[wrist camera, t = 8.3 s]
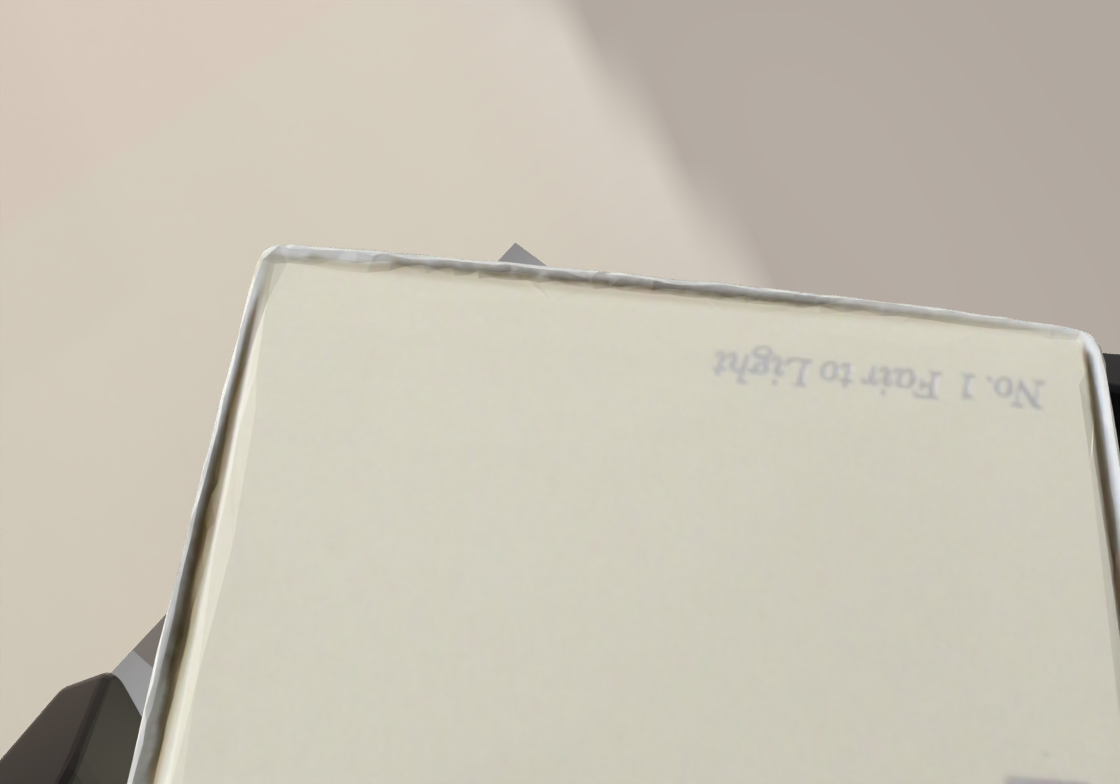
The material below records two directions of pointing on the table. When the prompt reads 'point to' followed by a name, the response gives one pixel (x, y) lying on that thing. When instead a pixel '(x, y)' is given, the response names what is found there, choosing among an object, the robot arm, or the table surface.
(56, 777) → the robot arm
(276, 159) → the table surface
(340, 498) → the skincare box
